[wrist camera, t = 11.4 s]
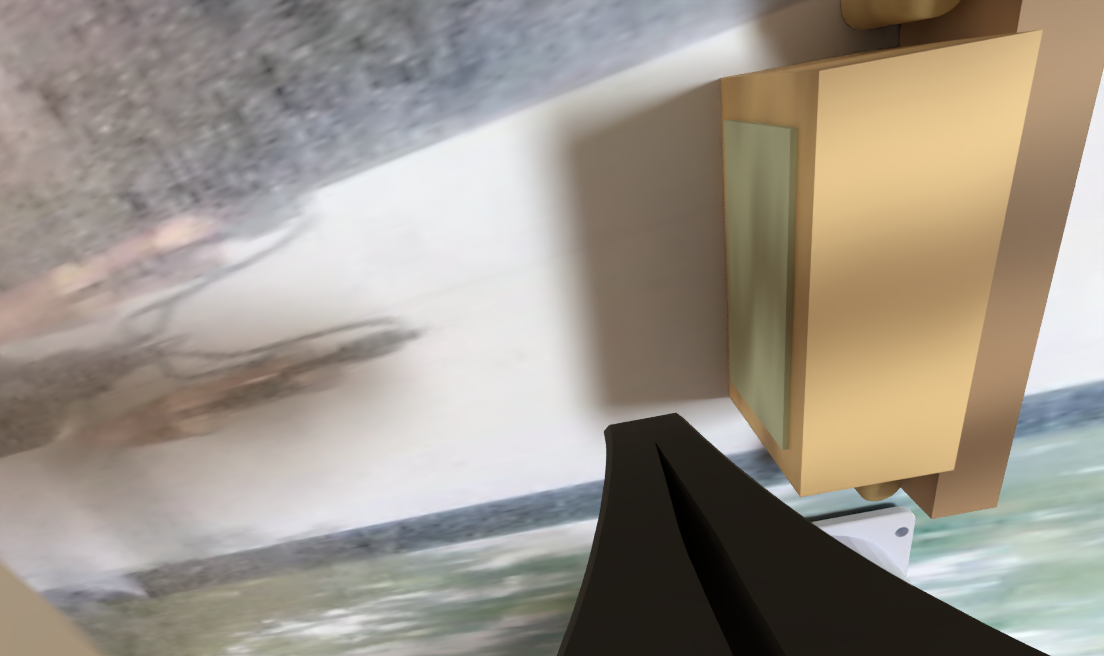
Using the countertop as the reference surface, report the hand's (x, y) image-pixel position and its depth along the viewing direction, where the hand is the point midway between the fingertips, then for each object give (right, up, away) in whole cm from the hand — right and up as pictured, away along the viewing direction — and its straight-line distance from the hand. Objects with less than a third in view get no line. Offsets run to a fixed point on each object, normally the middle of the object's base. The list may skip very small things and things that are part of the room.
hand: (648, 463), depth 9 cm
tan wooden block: (+5, +5, +6) cm, 10 cm away
